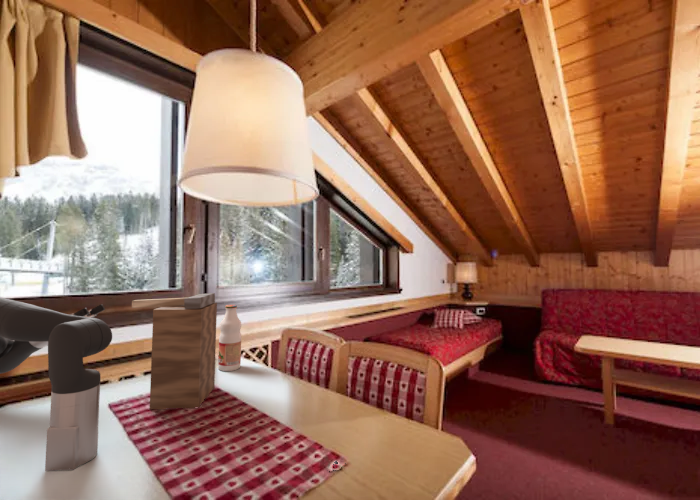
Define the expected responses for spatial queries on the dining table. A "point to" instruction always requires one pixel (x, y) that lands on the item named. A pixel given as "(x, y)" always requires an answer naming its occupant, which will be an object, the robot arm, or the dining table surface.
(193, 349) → the stand
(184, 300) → the scraper
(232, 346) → the fruit juice
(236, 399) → the dining table surface
